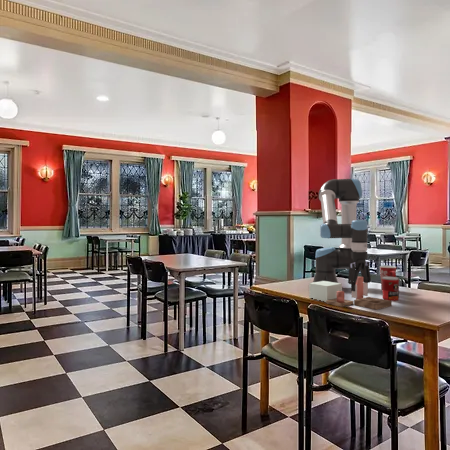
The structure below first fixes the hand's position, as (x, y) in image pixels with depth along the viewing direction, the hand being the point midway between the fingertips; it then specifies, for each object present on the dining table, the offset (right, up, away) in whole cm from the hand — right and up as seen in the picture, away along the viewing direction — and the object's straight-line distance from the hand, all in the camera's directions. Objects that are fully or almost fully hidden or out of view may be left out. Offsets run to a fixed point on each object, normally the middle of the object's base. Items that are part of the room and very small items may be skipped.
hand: (359, 296), depth 198 cm
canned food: (+17, -2, +4) cm, 18 cm away
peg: (0, -2, 0) cm, 2 cm away
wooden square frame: (+3, -2, -10) cm, 11 cm away
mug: (+26, -2, +26) cm, 37 cm away
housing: (-16, -2, +6) cm, 17 cm away
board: (-12, -2, -6) cm, 13 cm away
